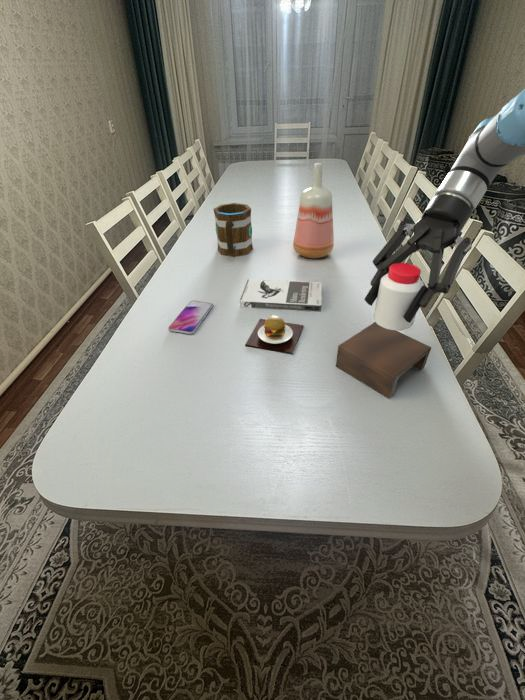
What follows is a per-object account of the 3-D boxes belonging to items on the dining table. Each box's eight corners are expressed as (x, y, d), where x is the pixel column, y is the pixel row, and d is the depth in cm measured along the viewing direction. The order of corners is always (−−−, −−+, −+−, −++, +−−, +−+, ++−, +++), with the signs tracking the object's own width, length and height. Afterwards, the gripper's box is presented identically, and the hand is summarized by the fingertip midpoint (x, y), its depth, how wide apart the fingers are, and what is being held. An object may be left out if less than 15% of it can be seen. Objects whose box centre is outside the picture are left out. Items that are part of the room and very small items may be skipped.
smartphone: (213, 303, 103) (192, 332, 92) (214, 305, 104) (192, 335, 93) (190, 299, 105) (166, 328, 94) (191, 302, 105) (167, 331, 94)
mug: (220, 242, 141) (216, 203, 132) (254, 242, 141) (252, 202, 131) (212, 264, 126) (207, 221, 117) (250, 264, 125) (248, 220, 116)
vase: (287, 248, 135) (289, 161, 117) (322, 243, 138) (329, 157, 120) (302, 264, 124) (306, 170, 106) (339, 258, 127) (350, 166, 109)
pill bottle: (399, 335, 68) (412, 283, 61) (365, 319, 72) (374, 269, 66) (420, 319, 72) (435, 269, 65) (387, 305, 76) (398, 256, 70)
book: (321, 287, 111) (322, 282, 109) (320, 311, 100) (321, 305, 99) (248, 284, 114) (248, 278, 112) (240, 307, 103) (239, 301, 102)
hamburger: (303, 326, 94) (304, 309, 91) (292, 354, 85) (293, 335, 82) (260, 320, 97) (259, 302, 94) (245, 346, 89) (244, 327, 85)
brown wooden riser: (424, 368, 80) (431, 347, 77) (389, 399, 73) (395, 377, 70) (371, 340, 89) (376, 320, 85) (335, 366, 82) (338, 345, 78)
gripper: (512, 229, 63) (441, 339, 65) (407, 204, 75) (349, 298, 77) (513, 204, 57) (434, 327, 59) (398, 182, 69) (336, 284, 71)
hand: (386, 310), depth 68 cm, fingers closed on pill bottle, 8 cm apart
